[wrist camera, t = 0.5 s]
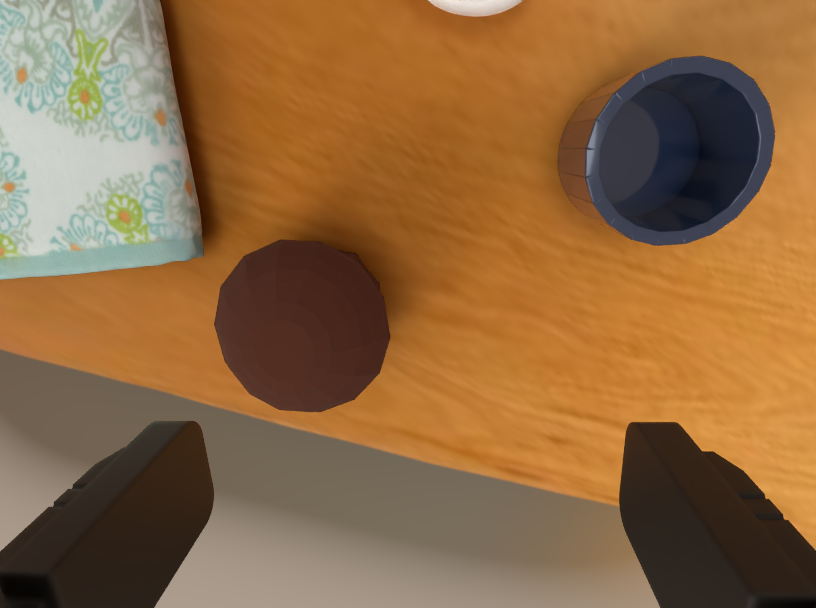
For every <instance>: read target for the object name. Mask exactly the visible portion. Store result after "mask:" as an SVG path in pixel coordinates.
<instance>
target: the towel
mask: <svg viewBox="0 0 816 608" xmlns="http://www.w3.org/2000/svg"><path fill="white" fill-rule="evenodd" d="M203 256H204V246H203V241H202V225H201V216H200V208H199V204H198V197H197V193H196V188H195V183H194V177H193V173H192V168H191V163H190V158H189V153H188V149H187V143H186V138H185V133H184V129H183V122H182V117H181V113H180V109H179V104H178V99H177V95H176V90H175V85H174V78H173V73H172V66H171V60H170V53H169V48H168V42H167V37H166V31H165V24H164V18H163V12H162V7H161V2H160V0H0V279H14V278H23V277H44V276H59V275H71V274H81V273H91V272H100V271H107V270H115V269H124V268H136V267H143V266H156V265H162V264H165V263H168V262H174V261H189V260H191V259H192V258H195V257H203Z"/></svg>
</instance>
